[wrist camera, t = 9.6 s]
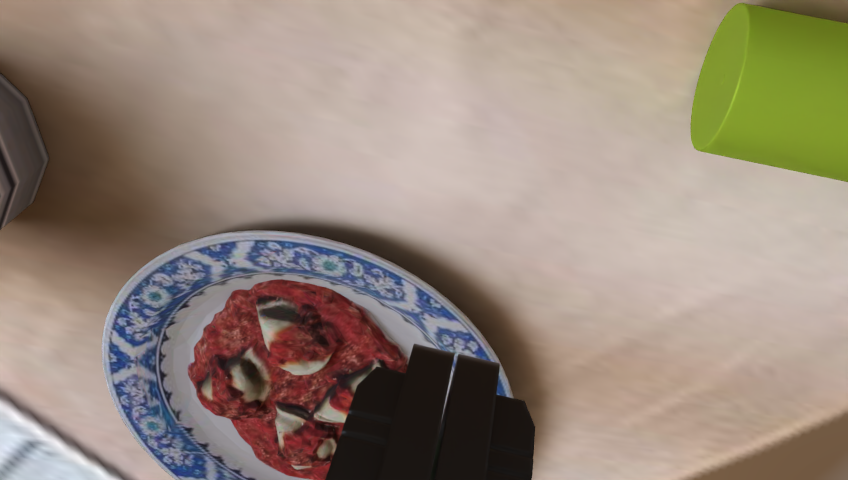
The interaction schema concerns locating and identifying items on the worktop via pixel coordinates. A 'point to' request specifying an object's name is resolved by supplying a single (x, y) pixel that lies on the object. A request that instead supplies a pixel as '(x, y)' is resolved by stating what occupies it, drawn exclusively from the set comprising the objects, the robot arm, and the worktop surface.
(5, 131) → the can
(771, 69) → the soap dispenser
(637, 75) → the worktop surface
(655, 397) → the worktop surface
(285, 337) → the ceramic plate
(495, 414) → the robot arm
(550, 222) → the worktop surface
